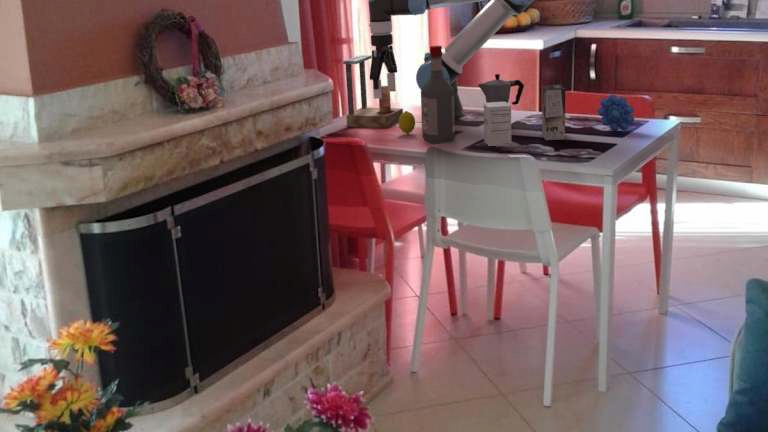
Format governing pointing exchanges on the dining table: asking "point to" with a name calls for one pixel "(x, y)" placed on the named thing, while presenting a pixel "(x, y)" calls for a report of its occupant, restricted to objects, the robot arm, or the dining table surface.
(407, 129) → the lemon
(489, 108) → the supplement box
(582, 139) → the dining table surface
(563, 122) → the coffee box
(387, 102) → the peg
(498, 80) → the coffeepot
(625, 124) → the blue flower
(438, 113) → the liquor
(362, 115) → the socket awning
